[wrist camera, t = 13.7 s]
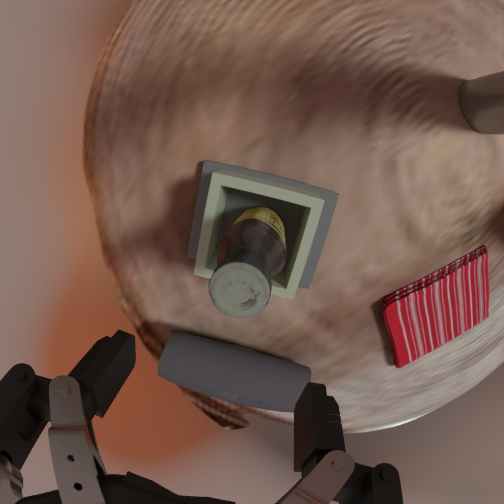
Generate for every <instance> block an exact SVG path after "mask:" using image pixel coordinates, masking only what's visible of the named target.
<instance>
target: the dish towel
mask: <svg viewBox="0 0 504 504" xmlns="http://www.w3.org/2000/svg"><path fill="white" fill-rule="evenodd" d="M488 269H489V268H488V250H487V249H486V246H485V245H484V246H483V247H481V248H479V249H477V250H475V251H473V252H471V253H469V254H467V255H466V256H464V257H462V258H460V259H458V260H456V261H454V262H452V263H451V264H449V265H447V266H445V267H444V268H442V269H440V270H438V271H436V272H434V273H432V274H431V275H429V276H427V277H425V278H422V279H421V280H419V281H417V282H415V283H412V284H410V285H408V286H407V287H404V288H402V289H400V290H398V291H396V292H395V293H393V294H391V295H389V296H387V297H385V298H384V299H383V301H384V305H383V309H382V311H383V315H384V321H385V324H386V328H387V330H388V333H389V336H390V338H391V341H392V346H393V352H394V359H395V365H396V368H401V367H402V366H404V365H406V364H408V363H410V362H412V361H414V360H416V359H418V358H420V357H422V356H424V355H425V354H427V353H429V352H431V351H433V350H434V349H436V348H438V347H440V346H442V345H444V344H445V343H447V342H449V341H450V340H452V339H454V338H455V337H457V336H459V335H460V334H463V333H464V332H465V331H467V330H468V329H470V328H472V327H473V326H475V325H477V324H478V323H480V322H482V321H483V320H484V319H486V318H487V317H488V316H489V315H488V307H489V270H488Z"/></svg>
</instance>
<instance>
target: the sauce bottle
mask: <svg viewBox="0 0 504 504" xmlns="http://www.w3.org/2000/svg"><path fill="white" fill-rule="evenodd" d="M285 261H286V243H285V231H284V224H283V222H282V220H281V218H280V216H279V215H278V214H277V213H276V212H275V211H273V210H271V209H269V208H266V207H253V208H250V209H248V210H246V211H245V212H244V213H243V214H242V215H241V216H240V217H239V218H238V219H237V220H236V221H235V222H234V223H233V225H232V226H231V227H230V228H229V229H228V230H227V232H226V233H225V235H224V236H223V238H222V240H221V241H220V244H219V247H218V251H217V267H216V269H215V270H214V272H213V274H212V276H211V278H210V281H209V294H210V297H211V300H212V302H213V303H214V305H215V306H216V307H217V308H218V309H219V310H220V311H222V312H224V313H225V314H227V315H229V316H231V317H236V318H247V317H251V316H254V315H256V314H258V313H259V312H260V311H261V310H262V309H263V308H264V307H265V306H266V305H267V303H268V301H269V297H270V294H271V290H272V282H271V279H273V278H274V277H275V276H277V275H278V274H279V273H280V272H281V270H282V269H283V267H284V264H285Z"/></svg>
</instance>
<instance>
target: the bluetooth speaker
mask: <svg viewBox="0 0 504 504" xmlns="http://www.w3.org/2000/svg"><path fill="white" fill-rule="evenodd" d="M158 375H159V376H160V377H162V378H164V379H166V380H168V381H170V382H172V383H175V384H177V385H180V386H182V387H185V388H188V389H190V390H193V391H196V392H199V393H202V394H205V395H208V396H211V397H214V398H218V399H221V400H225V401H229V402H233V403H237V404H241V405H246V406H251V407H255V408H261V409H267V410H273V411H280V412H294V409H295V405H296V402H297V400H298V399H299V397H300V395H301V393H302V392H303V390H304V388H305V386H306V384H307V383H308V382H310V380H311V370H310V368H309V367H307V366H304V365H301V364H298V363H295V362H291V361H287V360H284V359H280V358H277V357H273V356H270V355H266V354H263V353H259V352H257V351H254V350H251V349H248V348H244V347H241V346H237V345H233V344H229V343H227V344H226V343H223V342H219V341H215V340H212V339H208V338H204V337H200V336H196V335H193V334H189V333H185V332H181V331H176V330H173V331H171V333H170V334H169V337H168V340H167V343H166V345H165V348H164V350H163V353H162V355H161V357H160V360H159V366H158Z"/></svg>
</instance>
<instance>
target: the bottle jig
mask: <svg viewBox="0 0 504 504" xmlns="http://www.w3.org/2000/svg"><path fill="white" fill-rule="evenodd" d="M338 195H339V194H338V193H336V192H333V191H329V190H326V189H323V188H319V187H316V186H312V185H309V184H305V183H302V182H298V181H294V180H291V179H287V178H283V177H279V176H275V175H271V174H267V173H263V172H259V171H255V170H251V169H246V168H242V167H237V166H233V165H228V164H223V163H219V162H214V161H209V160H204V164H203V169H202V174H201V178H200V183H199V189H198V194H197V199H196V204H195V210H194V215H193V221H192V227H191V233H190V239H189V245H188V251H187V258H189V259H193V260H196V263H195V270H194V275H197V276H200V277H204V278H208V279H210V278H211V276H212V274H213V272H214V270H215V269H216V267H217V251H218V247H219V244H220V241H221V240H222V238H223V236H224V235H225V233H226V232H227V230H228V229H229V228H230V227H231V226H232V225H233V223H234V222H235V221H236V220H237V219H238V218H239V217H240V216H241V215H242V214H243V213H244V212H245V211H246V210H248V209H250V208H253V207H266V208H269V209H271V210H273V211H275V212H276V213H277V214H278V215H279V216H280V218H281V220H282V222H283V224H284V231H285V243H286V261H285V264H284V267H283V269H282V270H281V272H280V273H279V274H278V275H277V276H275V277H274V278H273V279H271V282H272V290H271V294H270V295H274V296H278V297H282V298H287V299H291V300H293V299H294V296H295V293H296V290H297V288H298V286H299V287H303V288H307V289H308V288H309V286H310V283H311V280H312V277H313V274H314V271H315V268H316V265H317V263H318V260H319V257H320V254H321V250H322V247H323V244H324V241H325V238H326V235H327V232H328V229H329V225H330V222H331V219H332V216H333V212H334V209H335V205H336V202H337V199H338Z"/></svg>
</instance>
